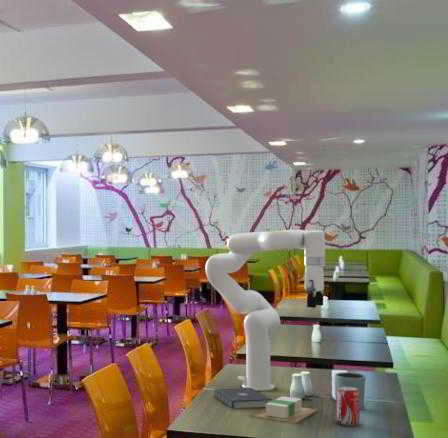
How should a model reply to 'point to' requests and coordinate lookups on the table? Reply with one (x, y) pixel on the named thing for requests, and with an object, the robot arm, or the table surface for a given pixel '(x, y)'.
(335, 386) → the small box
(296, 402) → the packet
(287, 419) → the mat
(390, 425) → the table surface
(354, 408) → the soda can
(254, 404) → the book
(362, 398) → the grey cup
